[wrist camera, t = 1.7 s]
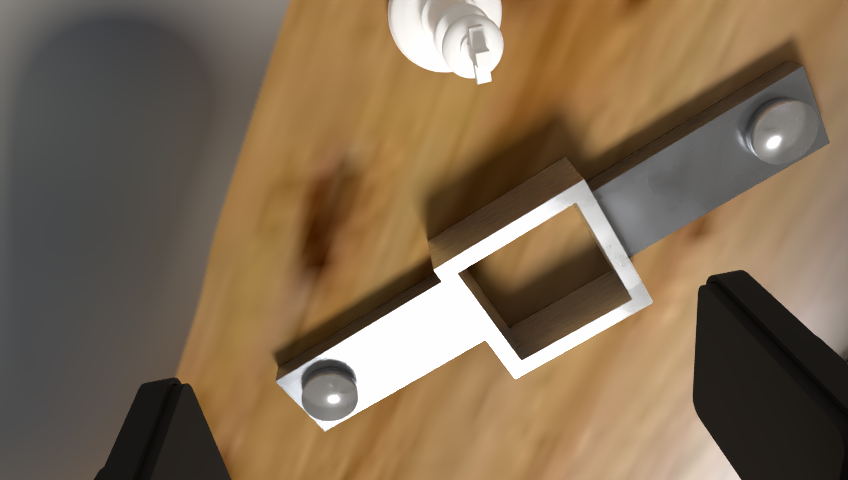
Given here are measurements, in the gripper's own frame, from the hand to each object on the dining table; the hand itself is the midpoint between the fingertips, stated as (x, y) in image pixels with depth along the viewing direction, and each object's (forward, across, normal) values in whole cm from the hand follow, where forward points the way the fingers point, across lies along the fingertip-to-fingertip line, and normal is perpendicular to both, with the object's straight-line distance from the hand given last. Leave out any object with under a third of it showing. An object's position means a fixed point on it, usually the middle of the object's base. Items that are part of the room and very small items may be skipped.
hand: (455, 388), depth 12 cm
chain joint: (+20, -6, +10) cm, 23 cm away
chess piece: (+20, -3, -3) cm, 21 cm away
